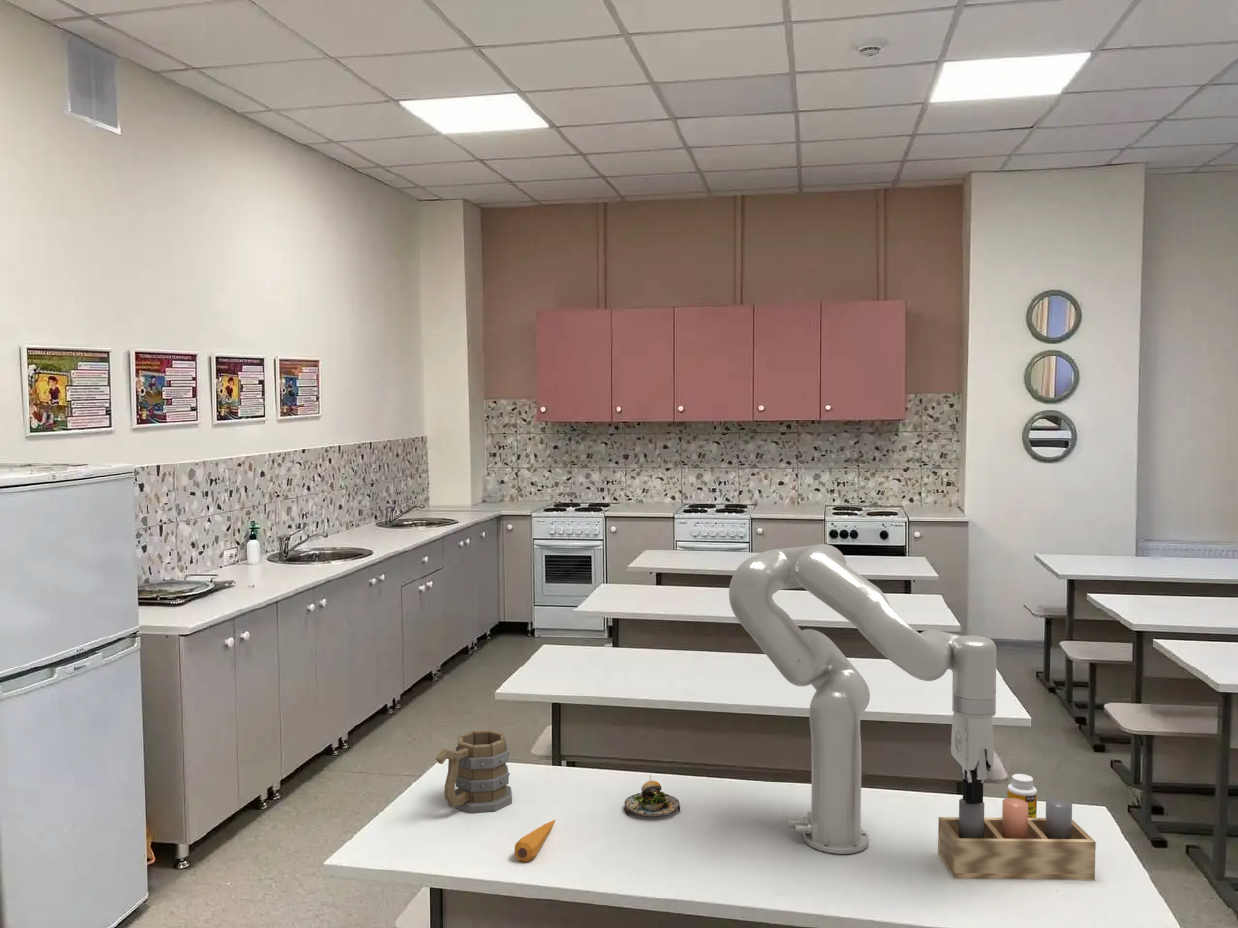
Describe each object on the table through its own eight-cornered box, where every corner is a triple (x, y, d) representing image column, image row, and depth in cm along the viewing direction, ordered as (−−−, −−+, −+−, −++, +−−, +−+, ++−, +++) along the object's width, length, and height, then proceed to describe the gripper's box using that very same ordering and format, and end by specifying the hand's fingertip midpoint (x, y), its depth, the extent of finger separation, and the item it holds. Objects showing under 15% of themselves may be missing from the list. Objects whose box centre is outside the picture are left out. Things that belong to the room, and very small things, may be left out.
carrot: (528, 869, 179) (537, 847, 179) (507, 857, 181) (516, 836, 180) (561, 834, 199) (569, 814, 199) (542, 823, 200) (550, 804, 200)
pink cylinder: (1007, 844, 176) (1007, 807, 175) (998, 834, 180) (998, 797, 180) (1031, 844, 176) (1032, 807, 175) (1021, 834, 180) (1022, 797, 180)
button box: (955, 878, 174) (955, 840, 173) (937, 852, 183) (938, 816, 183) (1094, 879, 173) (1095, 841, 172) (1070, 853, 183) (1070, 817, 182)
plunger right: (1051, 845, 176) (1052, 807, 175) (1041, 834, 180) (1042, 798, 180) (1075, 845, 175) (1076, 807, 175) (1064, 834, 180) (1065, 798, 179)
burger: (618, 819, 199) (618, 784, 199) (630, 797, 211) (630, 764, 210) (675, 824, 197) (675, 789, 196) (684, 801, 208) (684, 768, 208)
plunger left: (963, 844, 176) (963, 807, 176) (955, 833, 180) (955, 797, 180) (987, 844, 176) (988, 807, 175) (978, 833, 180) (979, 797, 180)
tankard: (481, 784, 218) (480, 719, 217) (523, 797, 210) (522, 730, 209) (415, 815, 201) (413, 745, 201) (457, 830, 194) (456, 757, 193)
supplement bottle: (1025, 834, 191) (1026, 784, 191) (1000, 824, 196) (1001, 775, 195) (1042, 827, 194) (1043, 778, 194) (1017, 818, 199) (1018, 769, 198)
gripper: (940, 692, 184) (939, 785, 185) (967, 717, 169) (965, 818, 170) (980, 692, 184) (979, 785, 185) (1009, 716, 169) (1008, 818, 170)
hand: (972, 801), depth 178 cm, fingers closed
